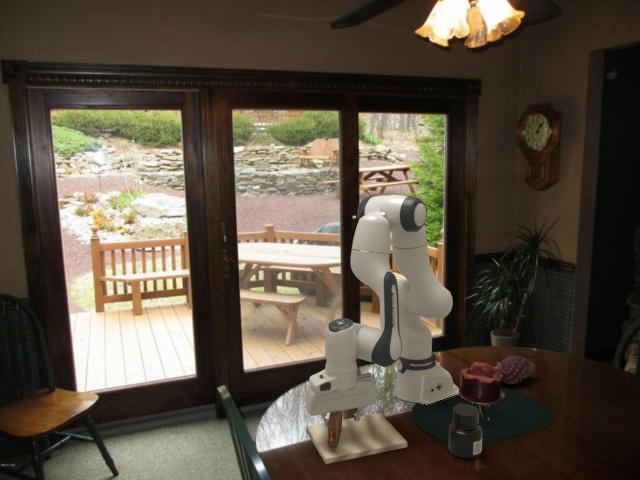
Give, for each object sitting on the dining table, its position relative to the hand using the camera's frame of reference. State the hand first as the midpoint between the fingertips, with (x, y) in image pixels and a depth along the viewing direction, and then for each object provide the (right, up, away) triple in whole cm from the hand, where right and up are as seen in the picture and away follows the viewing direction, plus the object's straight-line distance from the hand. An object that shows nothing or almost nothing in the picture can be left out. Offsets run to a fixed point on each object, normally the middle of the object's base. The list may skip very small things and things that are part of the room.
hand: (342, 423), depth 149 cm
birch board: (+4, -5, +2) cm, 7 cm away
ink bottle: (+34, -6, -5) cm, 34 cm away
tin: (-2, -4, 0) cm, 5 cm away
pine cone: (+63, +1, +37) cm, 73 cm away
